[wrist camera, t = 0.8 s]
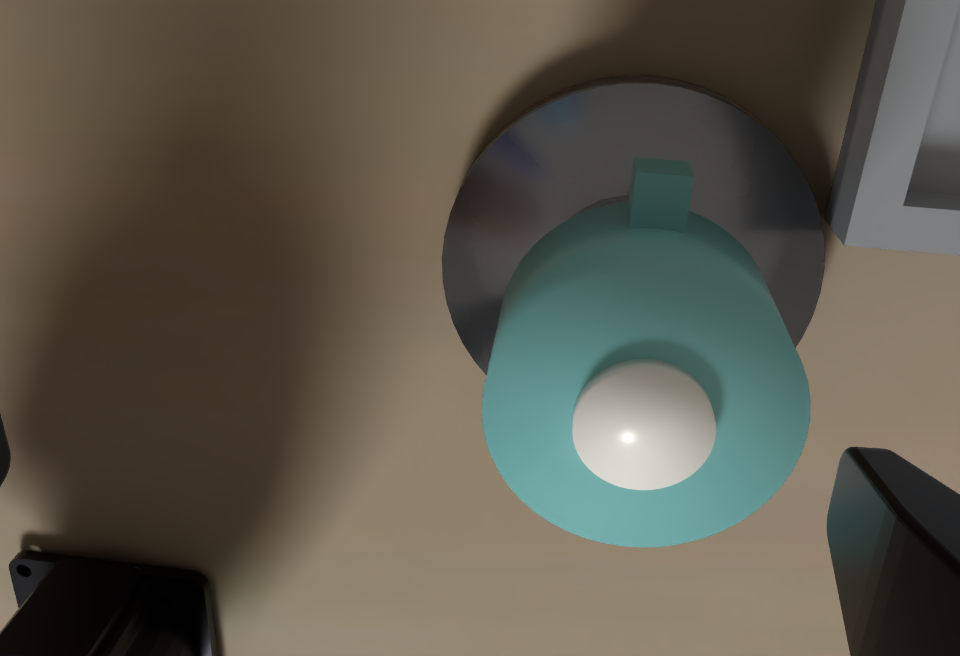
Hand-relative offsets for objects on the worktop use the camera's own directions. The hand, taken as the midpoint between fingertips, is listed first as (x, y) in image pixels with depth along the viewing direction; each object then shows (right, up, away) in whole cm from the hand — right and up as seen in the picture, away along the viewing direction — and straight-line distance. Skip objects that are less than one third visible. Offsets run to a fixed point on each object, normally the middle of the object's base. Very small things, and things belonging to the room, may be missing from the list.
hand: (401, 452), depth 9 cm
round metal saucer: (+4, +3, +13) cm, 14 cm away
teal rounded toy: (+4, +1, +9) cm, 10 cm away
